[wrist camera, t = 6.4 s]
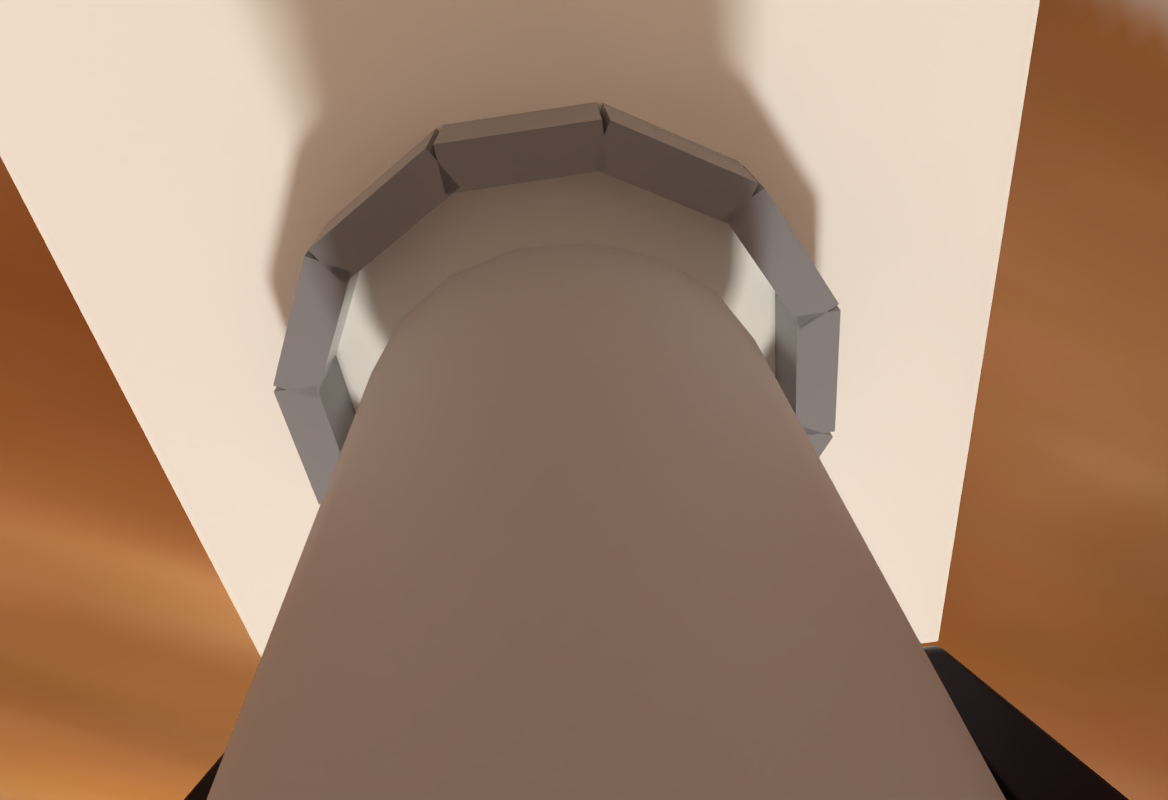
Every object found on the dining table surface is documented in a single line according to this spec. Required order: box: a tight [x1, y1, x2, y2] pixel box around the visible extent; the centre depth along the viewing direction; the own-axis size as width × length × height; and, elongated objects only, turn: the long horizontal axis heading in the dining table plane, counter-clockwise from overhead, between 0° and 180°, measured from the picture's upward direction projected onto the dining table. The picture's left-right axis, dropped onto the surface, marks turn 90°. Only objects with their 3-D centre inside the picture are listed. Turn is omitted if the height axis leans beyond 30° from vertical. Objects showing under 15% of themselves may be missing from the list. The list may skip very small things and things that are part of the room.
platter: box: [0, 0, 1040, 657], centre depth 16 cm, size 18×20×2 cm
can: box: [207, 243, 1006, 800], centre depth 10 cm, size 8×8×12 cm
